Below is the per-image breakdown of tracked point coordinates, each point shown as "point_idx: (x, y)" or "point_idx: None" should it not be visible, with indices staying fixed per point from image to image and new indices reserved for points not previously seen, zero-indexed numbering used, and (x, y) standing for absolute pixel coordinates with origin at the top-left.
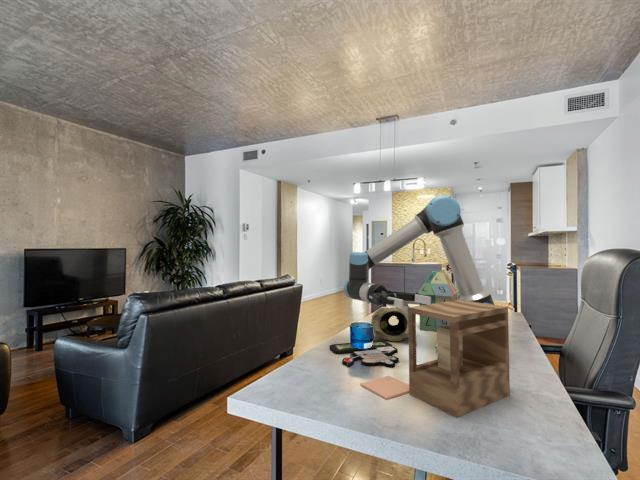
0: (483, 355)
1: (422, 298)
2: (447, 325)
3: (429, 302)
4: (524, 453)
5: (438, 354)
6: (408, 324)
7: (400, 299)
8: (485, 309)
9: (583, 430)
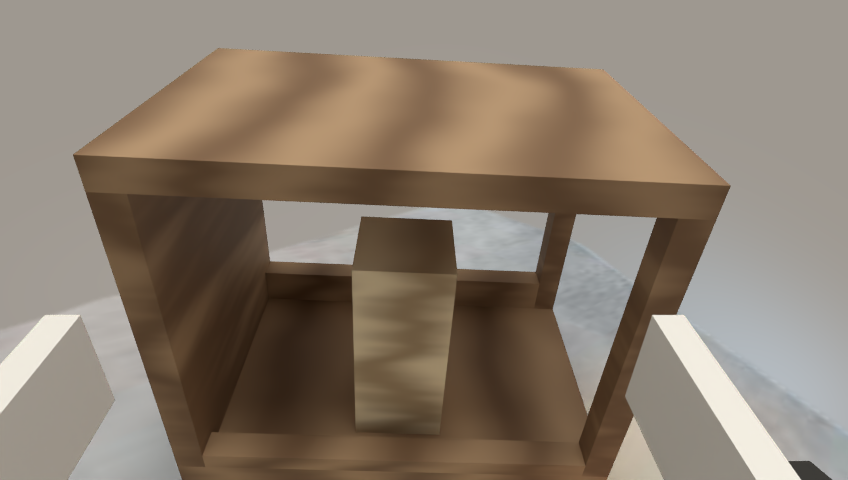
0: (244, 319)
1: (8, 464)
2: (374, 263)
3: (102, 375)
4: (513, 250)
5: (444, 387)
6: (685, 290)
7: (683, 342)
8: (360, 61)
9: (341, 231)
